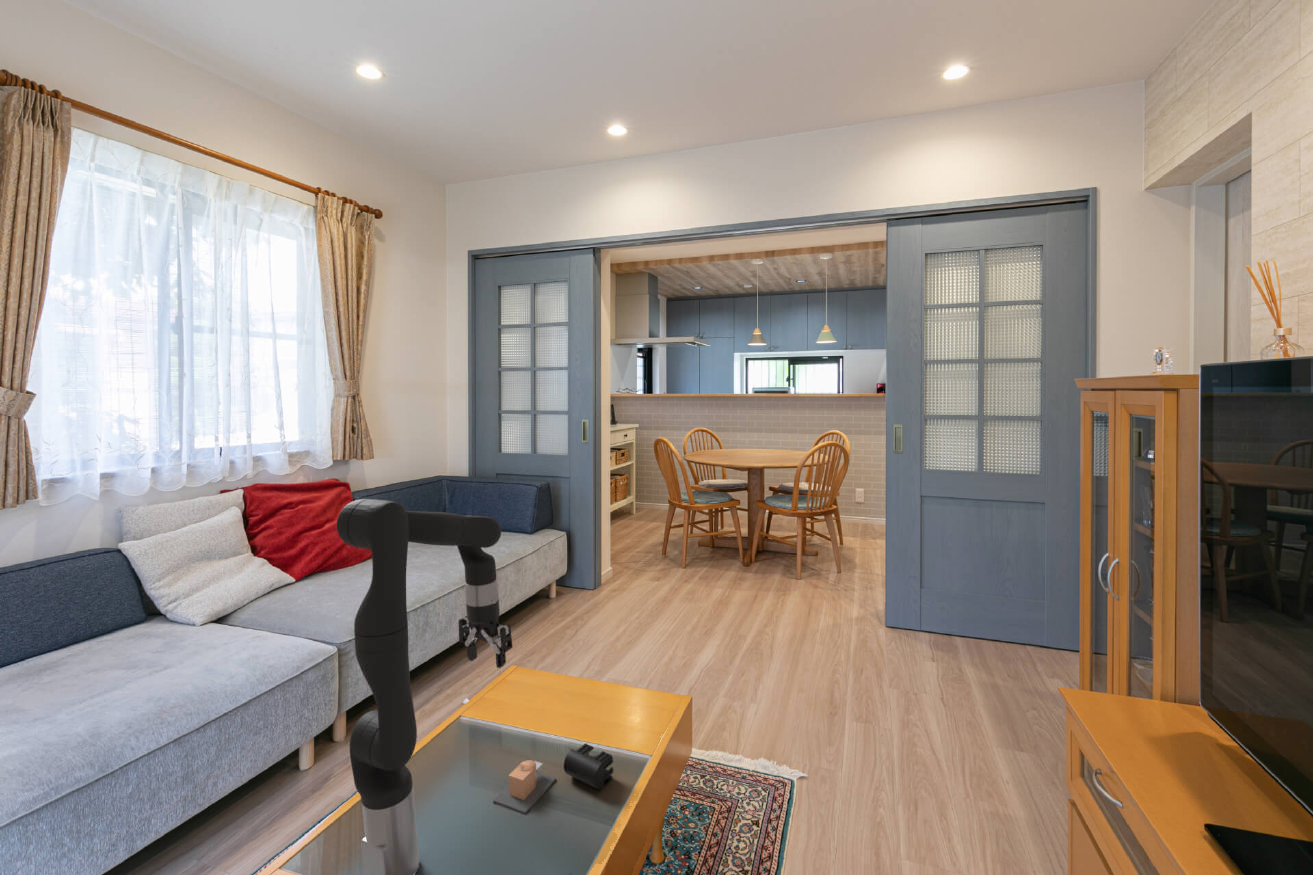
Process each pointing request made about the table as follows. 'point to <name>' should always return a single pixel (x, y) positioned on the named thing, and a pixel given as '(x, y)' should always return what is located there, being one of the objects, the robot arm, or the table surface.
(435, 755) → the table surface
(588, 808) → the table surface
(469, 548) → the robot arm
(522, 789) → the plug
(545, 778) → the mat
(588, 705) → the table surface
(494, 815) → the table surface
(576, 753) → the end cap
